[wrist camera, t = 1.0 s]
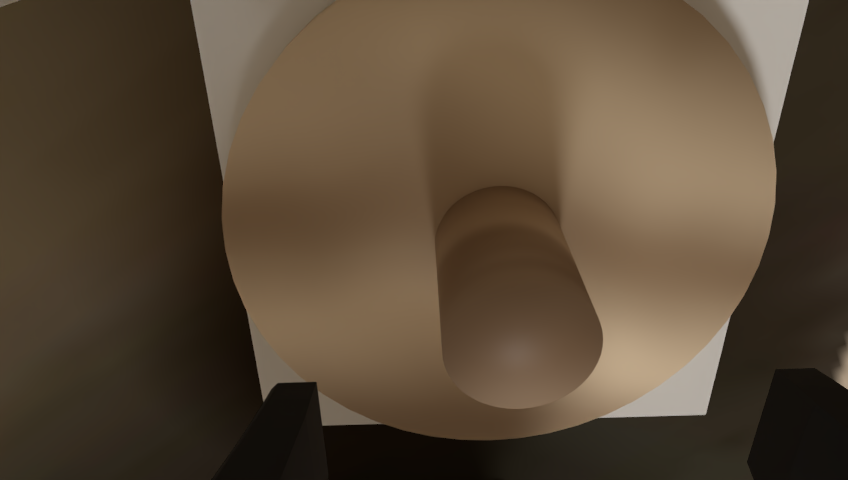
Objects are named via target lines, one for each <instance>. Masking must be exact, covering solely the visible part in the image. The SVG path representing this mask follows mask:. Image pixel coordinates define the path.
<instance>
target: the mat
mask: <svg viewBox="0 0 848 480" xmlns="http://www.w3.org/2000/svg"><path fill="white" fill-rule="evenodd" d="M190 1H191V7H192V12H193V18H194V23H195V29H196V34H197V40H198V45H199V51H200V56H201V62H202V67H203V73H204V78H205V84H206V89H207V95H208V100H209V106H210V111H211V117H212V122H213V128H214V133H215V139H216V144H217V150H218V155H219V161H220V166H221V172H222V177H223V182H224V176H225V171H226V166H227V160H228V155H229V151H230V148H231V145H232V142H233V139H234V136H235V134H236V131H237V128H238V125H239V122H240V119H241V117H242V115H243V113H244V111H245V109H246V108H247V106H248V104H249V102H250V100H251V98H252V96H253V94H254V92H255V90H256V88H257V87H258V85H259V83H260V82H261V81H262V79H263V78H264V76H265V75H266V73H267V72H268V71H269V69H270V68H271V67H272V65H273V64H274V62H275V61H276V60H277V58H278V57H279V56H280V54H281V53H282V51H283V50H284V49H285V47H286V46H287V45H288V44H289V43H290V42H291V41H292V40H293V39H294V38H295V37H296V35H297V34H298V33H299V32H300V31H301V30H302V29H303V28H304V27H305V26H306V25H307V24H308V23H309V22H310V21H311V20H312V19H313V18H314V17H315V16H317V15H318V14H319V13H320V12H322V11H323V10H324V9H326V8H327V7H328V6H330V5H331V4H332V3H333V2H335V1H336V0H190ZM683 1H685V2H686V3H687V4H689V5H690V6H691V7H693V8H694V9H695V10H697V11H698V12H699V13H700V14H702V15H703V16H704V17H705V18H706V19H707V20H708V21H709V22H710V24H711V25H712V26H713V27H714V28H715V29H716V30H717V31H718V32H719V33H720V34H721V35H722V36H723V37H724V38H725V39H726V40H727V41H728V43H729V44H730V45H731V47H732V48H733V50H734V51H735V53H736V54H737V56H738V57H739V59H740V60H741V62H742V63H743V65H744V66H745V68H746V69H747V71H748V72H749V74H750V76H751V78H752V81H753V83H754V85H755V87H756V89H757V91H758V94H759V96H760V98H761V100H762V102H763V105H764V108H765V112H766V115H767V119H768V123H769V126H770V130H771V134H772V137H773V143H774V139H775V135H776V131H777V127H778V123H779V119H780V115H781V111H782V106H783V102H784V98H785V94H786V90H787V86H788V82H789V78H790V74H791V70H792V66H793V62H794V58H795V54H796V50H797V46H798V42H799V38H800V34H801V30H802V26H803V22H804V18H805V14H806V10H807V6H808V2H809V0H683ZM247 315H248V320H249V326H250V331H251V337H252V342H253V348H254V353H255V359H256V364H257V370H258V375H259V381H260V386H261V392H262V397H263V402H264V400H265V399H266V397H267V395H268V394H269V392H270V390H271V389H272V388H273V387H274V386H275V385H276V384H277V383H291V382H306V381H305V380H304V379H302V378H301V377H300V376H299V375H298V374H297V373H296V372H295V371H294V370H292V369H291V368H290V367H289V366H288V365H287V364H286V363H285V362H284V361H283V360H282V359H281V358H280V357H279V356H278V355H277V353H276V352H275V351H274V350H273V348H272V347H271V346H270V345H269V343H268V342H267V341H266V340H265V338H264V337H263V336H262V335H261V333H260V332H259V330H258V328H257V327H256V325H255V323H254V322H253V320H252V318H251V317H250V315H249V313H248V312H247ZM729 319H730V317H729ZM729 319H728V320H727V322H726V323H725V324H724V325H723V326H722V328H721V329H720V330H719V331H718V332H717V334H716V335H715V336H714V337H713V338H712V340H711V341H710V342H709V343H708V344H707V345H706V346H705V347H704V348H703V349H702V350H701V351H700V352H699V353H698V354H697V355H696V356H695V357H694V358H693V359H692V360H691V361H690V362H689V363H687V364H686V365H685V366H684V367H683V368H682V369H680V370H679V371H678V372H676V373H675V374H674V375H673V376H671V377H670V378H669V379H667V380H666V381H665V382H663V383H662V384H661V385H659V386H658V387H656V388H654V389H653V390H651V391H650V392H648V393H646V394H645V395H643V396H642V397H640V398H638V399H637V400H635V401H633V402H631V403H629V404H627V405H625V406H623V407H621V408H619V409H617V410H615V411H613V412H611V413H609V414H607V415H604V416H601V417H599V418H608V417H643V416H678V415H706V411H707V407H708V403H709V399H710V395H711V391H712V387H713V383H714V379H715V375H716V371H717V367H718V363H719V359H720V355H721V351H722V347H723V343H724V339H725V335H726V331H727V327H728V323H729ZM318 396H319V404H320V412H321V419H322V426H325V425H361V424H382V423H379V422H376V421H374V420H371V419H369V418H367V417H365V416H363V415H360V414H358V413H356V412H354V411H351V410H349V409H347V408H346V407H344V406H342V405H340V404H339V403H337V402H335V401H334V400H332V399H330V398H329V397H327V396H325V395H323V394H322V393H321V392H319V391H318Z"/></svg>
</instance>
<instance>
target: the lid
mask: <svg viewBox="0 0 848 480" xmlns="http://www.w3.org/2000/svg"><path fill="white" fill-rule="evenodd" d="M775 191H776V163H775V154H774V145H773V137H772V134H771V130H770V126H769V123H768V119H767V115H766V112H765V108H764V105H763V102H762V100H761V98H760V96H759V94H758V91H757V89H756V87H755V85H754V83H753V81H752V78H751V76H750V74H749V72H748V71H747V69H746V68H745V66H744V65H743V63H742V62H741V60H740V59H739V57H738V56H737V54H736V53H735V51H734V50H733V48H732V47H731V45H730V44H729V43H728V41H727V40H726V39H725V38H724V37H723V36H722V35H721V34H720V33H719V32H718V31H717V30H716V29H715V28H714V27H713V26H712V25H711V24H710V22H709V21H708V20H707V19H706V18H705V17H704V16H703V15H702V14H700V13H699V12H698V11H697V10H695V9H694V8H693V7H691V6H690V5H689V4H687V3H686V2H685V1H683V0H336V1H335V2H333V3H332V4H331V5H330V6H328V7H327V8H326V9H324V10H323V11H322V12H320V13H319V14H318V15H317V16H315V17H314V18H313V19H312V20H311V21H310V22H309V23H308V24H307V25H306V26H305V27H304V28H303V29H302V30H301V31H300V32H299V33H298V34H297V35H296V37H295V38H294V39H293V40H292V41H291V42H290V43H289V44H288V45H287V46H286V47H285V49H284V50H283V51H282V53H281V54H280V56H279V57H278V58H277V60H276V61H275V62H274V64H273V65H272V67H271V68H270V69H269V71H268V72H267V73H266V75H265V76H264V78H263V79H262V81H261V82H260V83H259V85H258V87H257V88H256V90H255V92H254V94H253V96H252V98H251V100H250V102H249V104H248V106H247V108H246V109H245V111H244V113H243V115H242V117H241V119H240V122H239V125H238V128H237V131H236V134H235V136H234V139H233V142H232V145H231V148H230V151H229V155H228V160H227V166H226V171H225V176H224V182H223V193H222V226H223V235H224V243H225V251H226V255H227V259H228V262H229V266H230V270H231V273H232V277H233V281H234V283H235V285H236V288H237V290H238V292H239V295H240V297H241V299H242V302H243V304H244V306H245V309H246V310H247V312H248V313H249V315H250V317H251V318H252V320H253V322H254V323H255V325H256V327H257V328H258V330H259V332H260V333H261V335H262V336H263V337H264V338H265V340H266V341H267V342H268V343H269V345H270V346H271V347H272V348H273V350H274V351H275V352H276V353H277V355H278V356H279V357H280V358H281V359H282V360H283V361H284V362H285V363H286V364H287V365H288V366H289V367H290V368H291V369H292V370H294V371H295V372H296V373H297V374H298V375H299V376H300V377H301V378H302V379H304V380H305V381H306V382H317V389H318V391H319V392H321V393H322V394H323V395H325V396H327V397H329V398H330V399H332V400H334V401H335V402H337V403H339V404H340V405H342V406H344V407H346V408H347V409H349V410H351V411H354V412H356V413H358V414H360V415H363V416H365V417H367V418H369V419H371V420H374V421H376V422H379V423H382V424H385V425H388V426H392V427H395V428H398V429H401V430H404V431H409V432H413V433H418V434H423V435H427V436H432V437H441V438H450V439H458V440H501V439H514V438H523V437H529V436H535V435H541V434H546V433H551V432H555V431H559V430H562V429H566V428H570V427H573V426H577V425H580V424H583V423H585V422H588V421H591V420H593V419H596V418H599V417H601V416H604V415H607V414H609V413H611V412H613V411H615V410H617V409H619V408H621V407H623V406H625V405H627V404H629V403H631V402H633V401H635V400H637V399H638V398H640V397H642V396H643V395H645V394H646V393H648V392H650V391H651V390H653V389H654V388H656V387H658V386H659V385H661V384H662V383H663V382H665V381H666V380H667V379H669V378H670V377H671V376H673V375H674V374H675V373H676V372H678V371H679V370H680V369H682V368H683V367H684V366H685V365H686V364H687V363H689V362H690V361H691V360H692V359H693V358H694V357H695V356H696V355H697V354H698V353H699V352H700V351H701V350H702V349H703V348H704V347H705V346H706V345H707V344H708V343H709V342H710V341H711V340H712V338H713V337H714V336H715V335H716V334H717V332H718V331H719V330H720V329H721V328H722V326H723V325H724V324H725V323H726V322H727V320H728V319H729V317H730V316H731V314H732V313H733V311H734V310H735V308H736V307H737V305H738V304H739V302H740V301H741V299H742V298H743V296H744V295H745V293H746V291H747V289H748V286H749V284H750V282H751V280H752V278H753V276H754V274H755V272H756V270H757V268H758V266H759V263H760V260H761V257H762V254H763V252H764V249H765V246H766V243H767V240H768V237H769V232H770V227H771V222H772V217H773V212H774V206H775Z"/></svg>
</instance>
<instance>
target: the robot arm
mask: <svg viewBox="0 0 848 480" xmlns="http://www.w3.org/2000/svg"><path fill="white" fill-rule="evenodd" d="M747 463H748V466H749V468H750V471H751V474H752V476H753V479H754V480H848V390H847V389H846V388H844V387H843V386H841V385H840V384H839V383H837V382H835V381H834V380H832V379H831V378H829V377H828V376H826V375H825V374H823V373H821V372H820V371H818V370H817V369H815V368H805V369H776V370H775V373H774V377H773V380H772V383H771V386H770V389H769V393H768V396H767V399H766V402H765V406H764V409H763V412H762V415H761V419H760V422H759V425H758V428H757V432H756V435H755V438H754V441H753V445H752V448H751V451H750V454H749V458H748V461H747ZM211 480H328V466H327V458H326V450H325V443H324V435H323V427H322V419H321V412H320V404H319V396H318V389H317V382H291V383H277V384H276V385H275V386H274V387H273V388H272V389H271V390H270V392H269V394H268V395H267V397H266V399H265V400H264V402H263V404H262V405H261V407H260V409H259V410H258V412H257V413H256V415H255V417H254V418H253V420H252V421H251V423H250V424H249V426H248V427H247V429H246V431H245V432H244V434H243V435H242V437H241V438H240V440H239V441H238V443H237V444H236V445H235V447H234V448H233V450H232V451H231V453H230V454H229V456H228V457H227V458H226V460H225V461H224V463H223V464H222V465H221V467H220V468H219V470H218V471H217V472H216V474H215V475H214V477H213V478H212V479H211Z"/></svg>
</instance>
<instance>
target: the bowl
mask: <svg viewBox="0 0 848 480" xmlns="http://www.w3.org/2000/svg"><path fill="white" fill-rule="evenodd" d="M17 1H19V0H0V7H2V6H5V5H8V4H11V3H14V2H17Z"/></svg>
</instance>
